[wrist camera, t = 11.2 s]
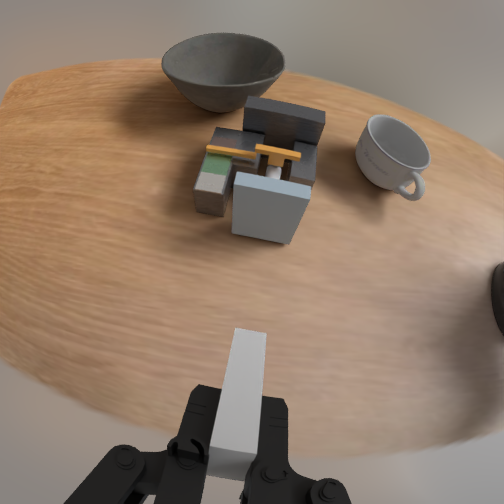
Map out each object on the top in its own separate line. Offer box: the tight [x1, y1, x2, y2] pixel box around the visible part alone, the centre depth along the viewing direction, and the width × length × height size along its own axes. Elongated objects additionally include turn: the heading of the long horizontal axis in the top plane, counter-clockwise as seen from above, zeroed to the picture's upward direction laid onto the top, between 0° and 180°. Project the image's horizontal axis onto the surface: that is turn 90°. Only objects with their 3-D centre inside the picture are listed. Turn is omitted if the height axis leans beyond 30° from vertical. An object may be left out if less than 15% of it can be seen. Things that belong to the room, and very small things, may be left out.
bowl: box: [162, 33, 285, 112], centre depth 41 cm, size 19×19×10 cm
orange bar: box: [206, 144, 301, 167], centre depth 33 cm, size 11×1×2 cm, turn 80°
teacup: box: [355, 115, 431, 201], centre depth 38 cm, size 14×11×8 cm
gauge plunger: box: [232, 165, 311, 244], centre depth 32 cm, size 7×8×10 cm
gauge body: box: [193, 96, 325, 217], centre depth 35 cm, size 14×13×9 cm
